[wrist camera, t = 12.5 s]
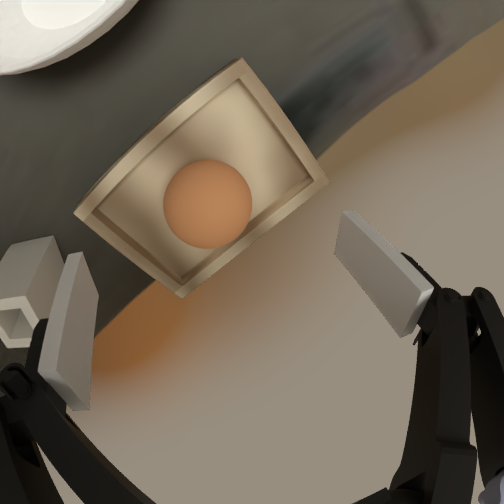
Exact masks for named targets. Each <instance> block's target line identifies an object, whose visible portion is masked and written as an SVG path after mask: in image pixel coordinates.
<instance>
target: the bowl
mask: <svg viewBox="0 0 504 504" xmlns="http://www.w3.org/2000/svg"><path fill="white" fill-rule="evenodd" d="M138 1H139V0H0V75H12V74H19V73H23V72H27V71H31V70H35V69H39V68H43V67H46V66H48V65H51V64H53V63H56V62H58V61H60V60H63V59H65V58H68V57H69V56H71V55H73V54H74V53H76V52H78V51H80V50H81V49H83V48H85V47H87V46H89V45H90V44H91V43H93V42H94V41H95V40H97V39H98V38H99V37H101V36H102V35H103V34H105V33H106V32H108V31H109V30H110V29H111V28H112V27H113V26H114V25H115V24H116V23H118V22H119V21H120V20H121V19H122V18H123V17H124V16H125V15H126V14H128V12H129V11H130V10H131V9H132V8H133V6H134V5H135V4H136V3H137V2H138Z"/></svg>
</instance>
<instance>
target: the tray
mask: <svg viewBox="0 0 504 504" xmlns="http://www.w3.org/2000/svg"><path fill="white" fill-rule="evenodd" d="M200 160H216V161H221V162H223V163H226V164H228V165H230V166H232V167H233V168H235V169H236V170H237V171H238V172H239V173H240V174H241V175H242V176H243V177H244V179H245V180H246V182H247V184H248V186H249V188H250V191H251V195H252V212H251V217H250V220H249V222H248V224H247V226H246V228H245V229H244V231H243V232H242V233H241V234H240V235H239V236H238V237H237V238H236V239H235V240H233V241H232V242H230V243H228V244H226V245H224V246H221V247H218V248H212V249H202V248H197V247H193V246H191V245H188V244H186V243H185V242H183V241H181V240H180V239H179V238H178V237H177V236H176V235H175V234H174V233H173V232H172V231H171V229H170V227H169V226H168V224H167V221H166V219H165V215H164V209H163V200H164V194H165V191H166V188H167V186H168V184H169V182H170V180H171V179H172V178H173V176H174V175H175V174H176V173H177V172H178V171H179V170H180V169H182V168H183V167H185V166H186V165H188V164H190V163H193V162H196V161H200ZM328 183H329V180H328V179H327V177H326V175H325V174H324V172H323V171H322V169H321V168H320V166H319V164H318V163H317V161H316V160H315V158H314V157H313V155H312V153H311V152H310V150H309V149H308V147H307V146H306V144H305V143H304V141H303V140H302V138H301V137H300V135H299V134H298V132H297V131H296V130H295V128H294V127H293V125H292V124H291V122H290V121H289V119H288V118H287V117H286V115H285V114H284V112H283V111H282V110H281V108H280V107H279V105H278V104H277V103H276V101H275V100H274V99H273V97H272V96H271V94H270V93H269V92H268V90H267V89H266V88H265V86H264V85H263V84H262V82H261V81H260V80H259V79H258V77H257V76H256V75H255V73H254V72H253V71H252V70H251V68H250V67H249V66H248V64H247V63H246V62H245V61H244V59H243V58H239V59H234V60H233V61H231V62H230V63H229V64H227V65H226V66H224V67H223V68H222V69H220V70H219V71H218V72H216V73H215V74H214V75H212V76H211V77H210V78H208V79H207V80H206V81H204V82H203V83H202V84H201V85H199V86H198V87H197V88H196V89H194V90H193V91H192V92H191V93H189V94H188V95H187V96H186V97H184V98H183V99H182V100H181V101H180V102H178V103H177V104H176V105H175V106H174V107H173V108H171V109H170V110H169V111H168V112H167V113H166V114H165V115H163V116H162V117H161V118H160V119H159V120H158V121H157V122H156V123H155V124H153V125H152V126H151V127H150V128H149V129H148V130H147V131H146V132H145V133H144V134H143V135H142V136H141V137H140V138H139V139H137V140H136V141H135V142H134V143H133V144H132V145H131V146H130V147H129V148H128V149H127V150H126V151H125V152H124V153H123V154H122V155H121V156H120V157H119V158H118V159H117V160H116V161H115V163H114V164H113V165H112V166H111V167H110V168H109V169H108V170H107V171H106V172H105V173H104V174H103V175H102V176H101V177H100V179H99V180H98V181H97V182H96V183H95V184H94V185H93V186H92V188H91V189H90V190H89V191H88V192H87V193H86V194H85V196H84V197H83V198H82V199H81V200H80V202H79V204H78V206H77V208H76V210H75V211H74V213H73V214H75V215H76V216H77V217H78V218H79V219H80V220H82V221H83V222H84V223H85V224H86V225H88V226H89V227H90V228H91V229H92V230H93V231H95V232H96V233H97V234H98V235H100V236H101V237H102V238H103V239H104V240H106V241H107V242H108V243H109V244H111V245H112V246H113V247H114V248H116V249H117V250H118V251H119V252H121V253H122V254H123V255H124V256H126V257H127V258H128V259H129V260H131V261H132V262H133V263H135V264H136V265H137V266H138V267H140V268H141V269H142V270H144V271H145V272H146V273H148V274H149V275H150V276H152V277H153V278H154V279H156V280H157V281H158V282H160V283H161V284H162V285H164V286H165V287H166V288H168V289H169V290H170V291H172V292H173V293H175V294H176V295H177V296H179V297H180V298H182V299H183V298H184V297H185V296H186V295H188V294H189V293H190V292H192V291H193V290H194V289H195V288H196V287H198V286H199V285H200V284H202V283H203V282H204V281H205V280H207V279H208V278H209V277H210V276H212V275H213V274H214V273H215V272H217V271H218V270H219V269H220V268H222V267H223V266H224V265H225V264H227V263H228V262H229V261H231V260H232V259H233V258H234V257H236V256H237V255H238V254H239V253H241V252H242V251H243V250H244V249H246V248H247V247H248V246H249V245H250V244H252V243H253V242H255V241H256V240H257V239H258V238H260V237H261V236H262V235H263V234H265V233H266V232H267V231H268V230H270V229H271V228H272V227H273V226H275V225H276V224H277V223H279V222H280V221H281V220H282V219H284V218H285V217H286V216H287V215H289V214H290V213H291V212H293V211H294V210H295V209H296V208H298V207H299V206H300V205H301V204H303V203H304V202H305V201H307V200H308V199H309V198H310V197H312V196H313V195H314V194H316V193H317V192H318V191H319V190H321V189H322V188H323V187H325V186H326V185H327V184H328Z"/></svg>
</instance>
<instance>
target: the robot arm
mask: <svg viewBox="0 0 504 504" xmlns="http://www.w3.org/2000/svg"><path fill="white" fill-rule="evenodd" d="M334 254H335V255H336V256H337V257H338V259H339V260H340V261H341V262H342V263H343V265H344V266H345V267H346V269H347V270H348V271H349V272H350V273H351V275H352V276H353V277H354V279H355V280H356V281H357V282H358V284H359V285H360V286H361V287H362V289H363V290H364V291H365V292H366V294H367V295H368V296H369V297H370V299H371V300H372V301H373V303H374V304H375V305H376V306H377V308H378V309H379V310H380V312H381V313H382V314H383V316H384V317H385V318H386V320H387V321H388V322H389V324H390V325H391V326H392V328H393V329H394V330H395V332H396V333H397V334H398V336H399V337H400V338H401V337H404V336H406V335H408V334H411V333H412V332H413V331H414V329H415V327H416V325H417V324H418V325H419V326H420V327H421V329H420V331H419V333H418V335H417V336H416V338H415V340H414V343H413V345H415V344H416V342H417V341H418V351H417V364H416V375H415V384H414V392H413V400H412V407H411V414H410V420H409V426H408V431H407V437H406V442H405V447H404V452H403V456H402V460H401V464H400V466H399V468H398V470H397V471H396V473H395V475H394V477H393V479H392V482H391V485H390V488H389V490H387V488H384V489H382V490H380V491H378V492H376V493H374V494H372V495H370V496H368V497H366V498H363V499H361V500H359V501H357V502H355V503H353V504H471V499H472V493H473V486H474V480H475V472H476V464H477V451H478V459H479V466H480V473H481V476H482V481H483V485H484V487H485V490H484V491H482V492H481V493H480V495H479V497H478V501H479V503H480V504H504V317H503V315H502V313H501V311H500V309H499V307H498V305H497V303H496V300H495V298H494V297H493V295H492V294H491V293H490V292H489V291H488V290H487V289H485V288H482V287H476V288H475V289H474V290H473V292H472V294H471V296H461V295H460V294H459V293H458V292H457V291H455V290H453V289H451V288H441V287H440V286H439V285H438V284H437V283H436V282H435V280H434V279H432V277H431V276H430V275H429V274H428V273H427V272H426V271H424V270H423V268H422V267H421V266H419V265H418V263H416V261H415V260H413V258H411V257H410V256H408V255H406V254H404V253H400V252H399V251H397V250H396V249H395V248H394V247H393V246H392V245H391V244H390V243H389V242H388V241H387V240H386V239H385V238H384V237H383V236H381V234H380V233H378V232H377V231H376V230H375V229H374V228H373V227H372V226H371V225H370V224H369V223H368V222H366V221H365V220H364V219H363V218H362V217H361V216H360V215H359V214H358V213H356V212H355V211H354V210H348V211H342V212H341V218H340V224H339V230H338V236H337V242H336V248H335V253H334ZM98 298H99V294H98V292H97V289H96V287H95V284H94V282H93V279H92V277H91V274H90V272H89V269H88V266H87V264H86V261H85V258H84V255H83V252H77V253H72V254H68V257H67V260H66V262H65V265H64V268H63V271H62V275H61V278H60V281H59V284H58V287H57V291H56V294H55V298H54V301H53V305H52V308H51V312H50V316H49V318H45V319H40V320H39V322H38V323H37V325H36V326H35V328H34V331H33V334H32V338H31V339H32V341H31V342H30V346H29V347H30V349H29V351H28V355H27V360H26V364H25V367H24V366H23V365H22V364H20V363H11V364H9V365H8V366H6V367H5V368H4V369H3V370H2V371H1V374H0V390H1V391H2V392H3V393H4V394H5V396H3V397H0V504H64V502H63V500H62V499H61V497H60V495H59V493H58V491H57V489H56V487H55V485H54V483H53V480H52V479H51V476H50V474H49V472H48V470H47V467H46V465H45V463H44V460H43V458H42V456H41V453H40V451H39V448H38V446H37V443H38V445H39V446H40V448H41V449H42V451H43V452H44V454H45V455H46V456H47V458H48V459H49V461H50V462H51V463H52V465H53V466H54V467H55V469H56V470H57V471H58V473H59V474H60V475H61V476H62V478H63V479H64V480H65V481H66V482H67V484H68V485H69V486H70V488H71V489H72V490H73V491H74V492H75V493H76V495H77V496H78V497H79V498H80V499H81V500H82V501H83V503H84V504H156V503H155V502H154V501H152V500H151V499H150V498H149V497H148V496H146V495H145V494H144V493H143V492H142V491H141V490H139V489H138V488H137V487H136V486H135V485H134V484H133V483H132V482H130V481H129V480H128V479H127V478H126V477H125V476H124V475H123V474H122V473H121V472H120V471H119V470H118V469H117V468H116V467H115V466H114V465H113V464H112V463H111V462H109V460H108V459H107V458H106V457H105V456H104V455H103V454H102V453H101V452H100V451H99V450H98V449H97V448H96V447H95V446H94V445H93V443H92V442H91V441H90V440H89V439H88V438H87V437H86V435H85V434H84V433H83V432H82V431H81V430H80V428H79V427H78V426H77V425H76V424H75V422H73V420H72V419H71V418H70V416H69V415H68V414H67V413H66V404H67V405H68V406H69V407H70V408H71V409H72V410H73V411H79V410H90V383H91V382H90V381H91V364H92V351H93V340H94V330H95V321H96V313H97V305H98ZM479 328H480V330H481V334H480V335H479V336H478V334H477V331H478V329H479ZM471 412H472V417H473V423H474V429H475V436H476V442H477V449H476V447H475V446H472V445H470V442H469V438H470V437H469V436H470V421H471ZM36 442H37V443H36Z"/></svg>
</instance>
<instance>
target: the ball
mask: <svg viewBox="0 0 504 504" xmlns="http://www.w3.org/2000/svg"><path fill="white" fill-rule="evenodd" d="M163 209H164V215H165V219H166V221H167V224H168V226H169V227H170V229H171V231H172V232H173V233H174V234H175V235H176V236H177V237H178V238H179V239H180V240H181V241H183V242H185V243H186V244H188V245H191V246H193V247H197V248H202V249H212V248H218V247H221V246H224V245H226V244H228V243H230V242H232V241H233V240H235V239H236V238H237V237H238V236H239V235H240V234H241V233H242V232H243V231H244V229H245V228H246V226H247V224H248V222H249V220H250V217H251V212H252V195H251V191H250V188H249V186H248V184H247V182H246V180H245V179H244V177H243V176H242V175H241V174H240V173H239V172H238V171H237V170H236V169H235V168H233V167H232V166H230V165H228V164H226V163H223V162H221V161H216V160H200V161H196V162H193V163H190V164H188V165H186V166H185V167H183V168H182V169H180V170H179V171H178V172H177V173H176V174H175V175H174V176H173V178H172V179H171V180H170V182H169V184H168V186H167V188H166V191H165V194H164V200H163Z"/></svg>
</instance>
